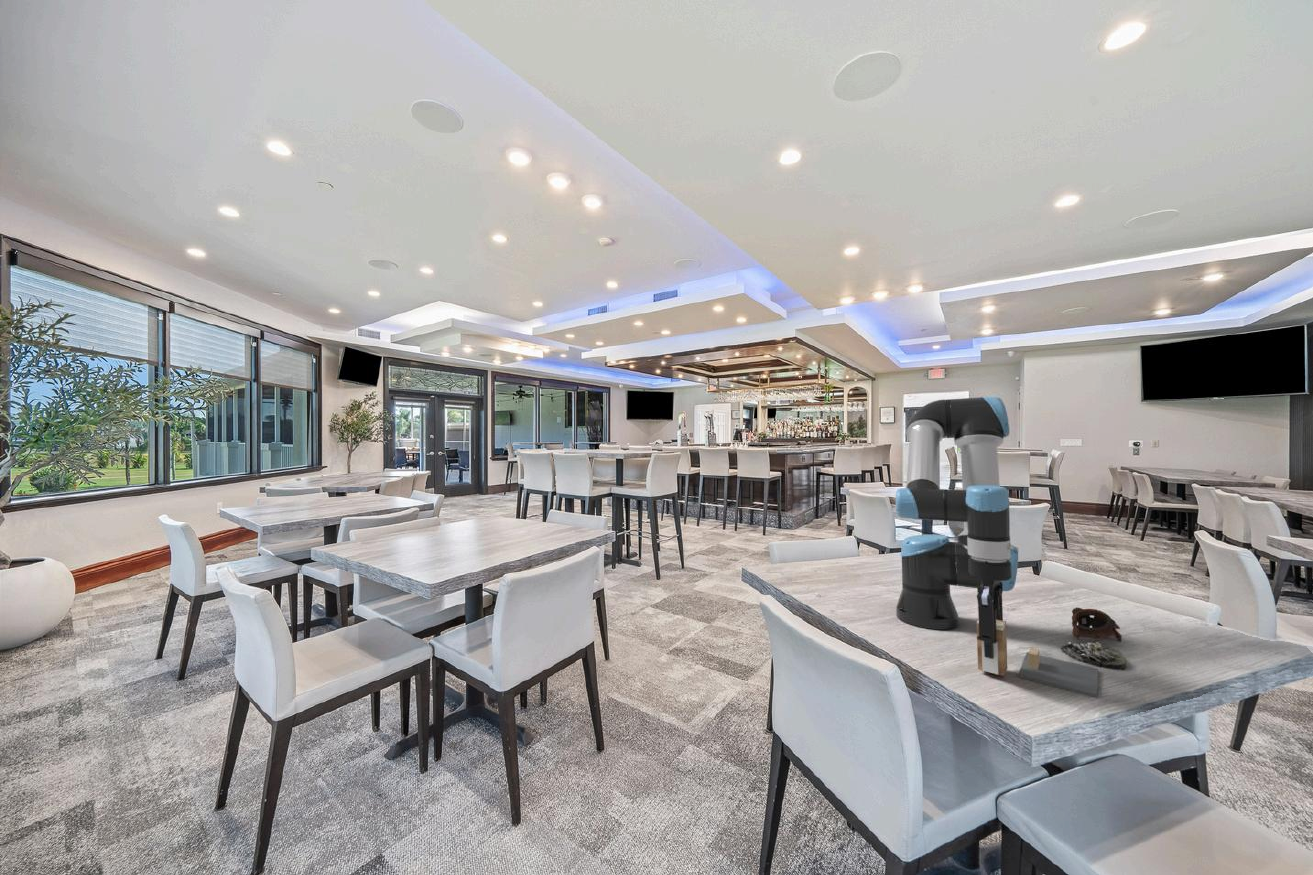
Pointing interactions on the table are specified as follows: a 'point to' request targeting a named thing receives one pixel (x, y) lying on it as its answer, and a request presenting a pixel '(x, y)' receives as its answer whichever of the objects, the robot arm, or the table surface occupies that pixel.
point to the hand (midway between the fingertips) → (992, 666)
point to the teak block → (1002, 646)
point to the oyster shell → (1095, 655)
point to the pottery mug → (1093, 624)
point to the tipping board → (1059, 673)
